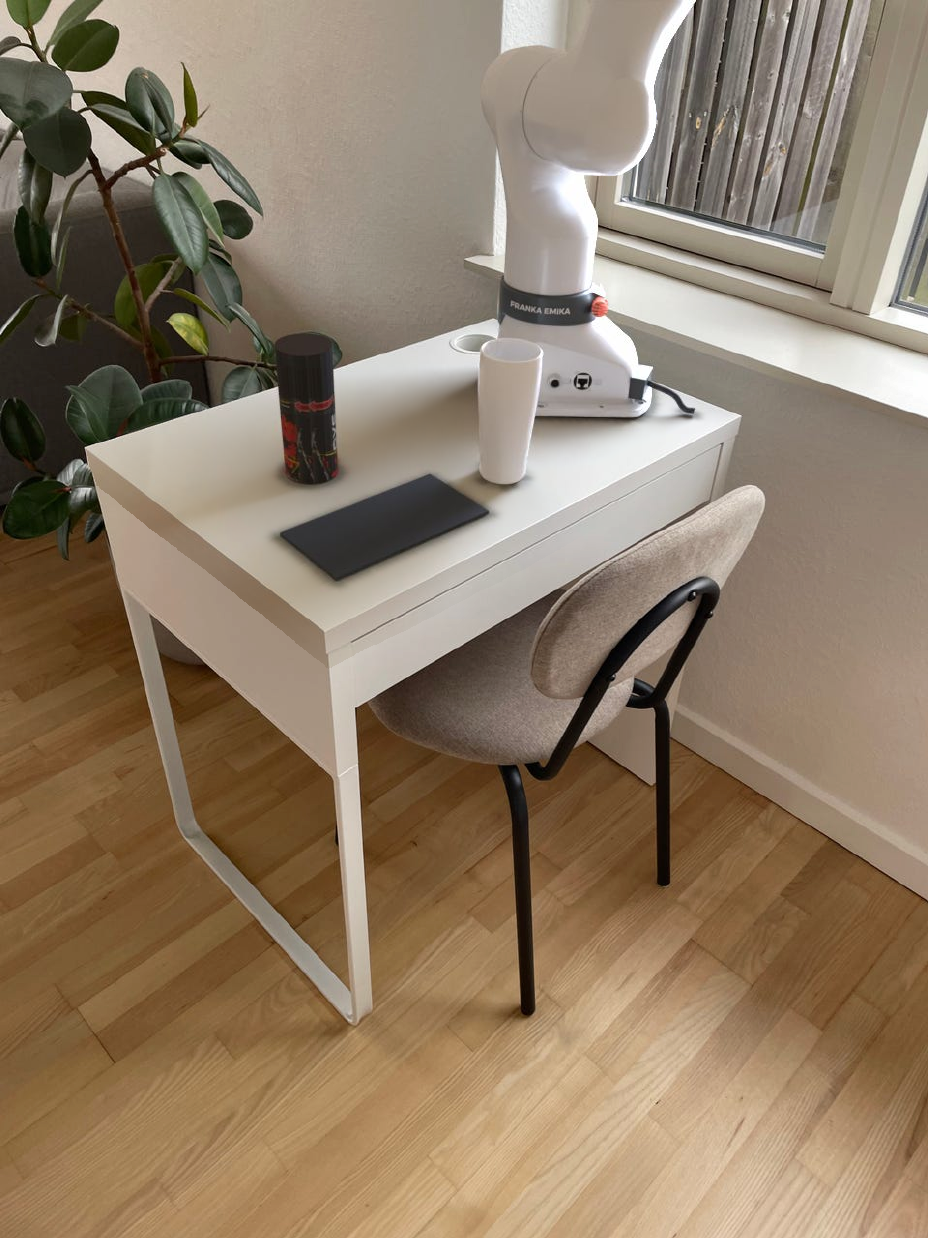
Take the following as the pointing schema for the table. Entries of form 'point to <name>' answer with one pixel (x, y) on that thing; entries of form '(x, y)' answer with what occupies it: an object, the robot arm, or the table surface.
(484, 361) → the drinking glass
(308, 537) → the mat
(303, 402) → the deodorant
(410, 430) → the table surface
